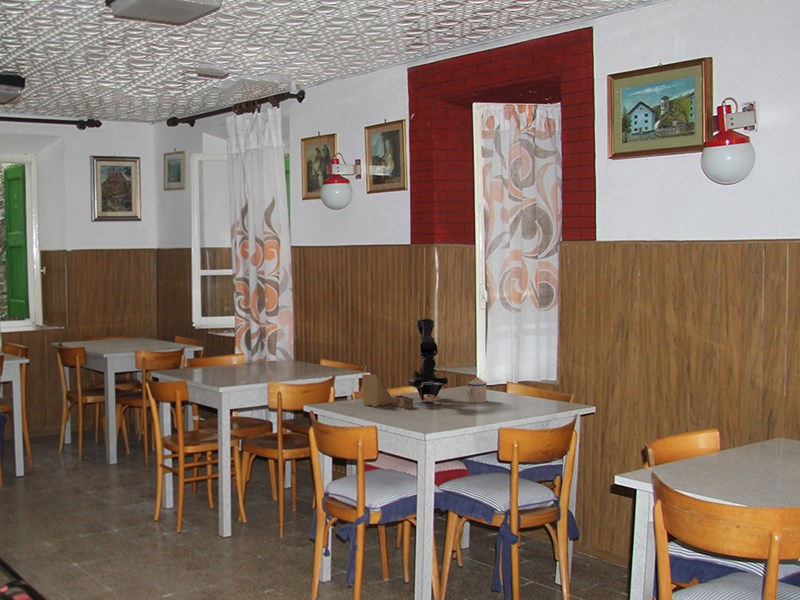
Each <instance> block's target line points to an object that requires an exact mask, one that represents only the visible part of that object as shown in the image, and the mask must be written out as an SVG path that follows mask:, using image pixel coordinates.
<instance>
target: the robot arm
mask: <svg viewBox="0 0 800 600" xmlns="http://www.w3.org/2000/svg"><path fill="white" fill-rule="evenodd" d="M416 329H417V330H418V335H419V336H420V339H421V340H420V343H419V354H420V357H421V367H420V369H419V371H413V372H412V378H413V379H412V378H411V379H409V380H408V386H409V387H413V388H415V389H416V390H417V392H418V395H420V398H421V399H420V400H421V402H423V401H424V400H423V399H424V395H426V394H430V395H434V396H438V394H439V393H440V391H441V389H442V388H443V387H444V385H446V384H449V379H448V378H447V377H445V376H437V375H436V373H435V372H437V370H436V369H435V367H436V359H435V357H437V355H438V354H439V349H438V344H437V343H436V341H435V338H434V337H432V334H433V329H435V320H434V319H430V318H422V319H419V320H417V321H416Z"/></svg>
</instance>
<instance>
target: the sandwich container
mask: <svg viewBox="0 0 800 600" xmlns="http://www.w3.org/2000/svg"><path fill="white" fill-rule="evenodd" d="M361 376H362V377H361V378H362V380H361V381H362V404H367V405H375V406H378V407H380V406H379V405H382V406H385V405H384V404H387V405H390V404H389V403H391V404H393V396H392V395H391V394H390V393H389V391H388V390H387V389H386V387H385V386H384V384H383V383H382V381H381V380H380V378H379V377H378V375H376V374H367V373H364V374H362V375H361Z"/></svg>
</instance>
